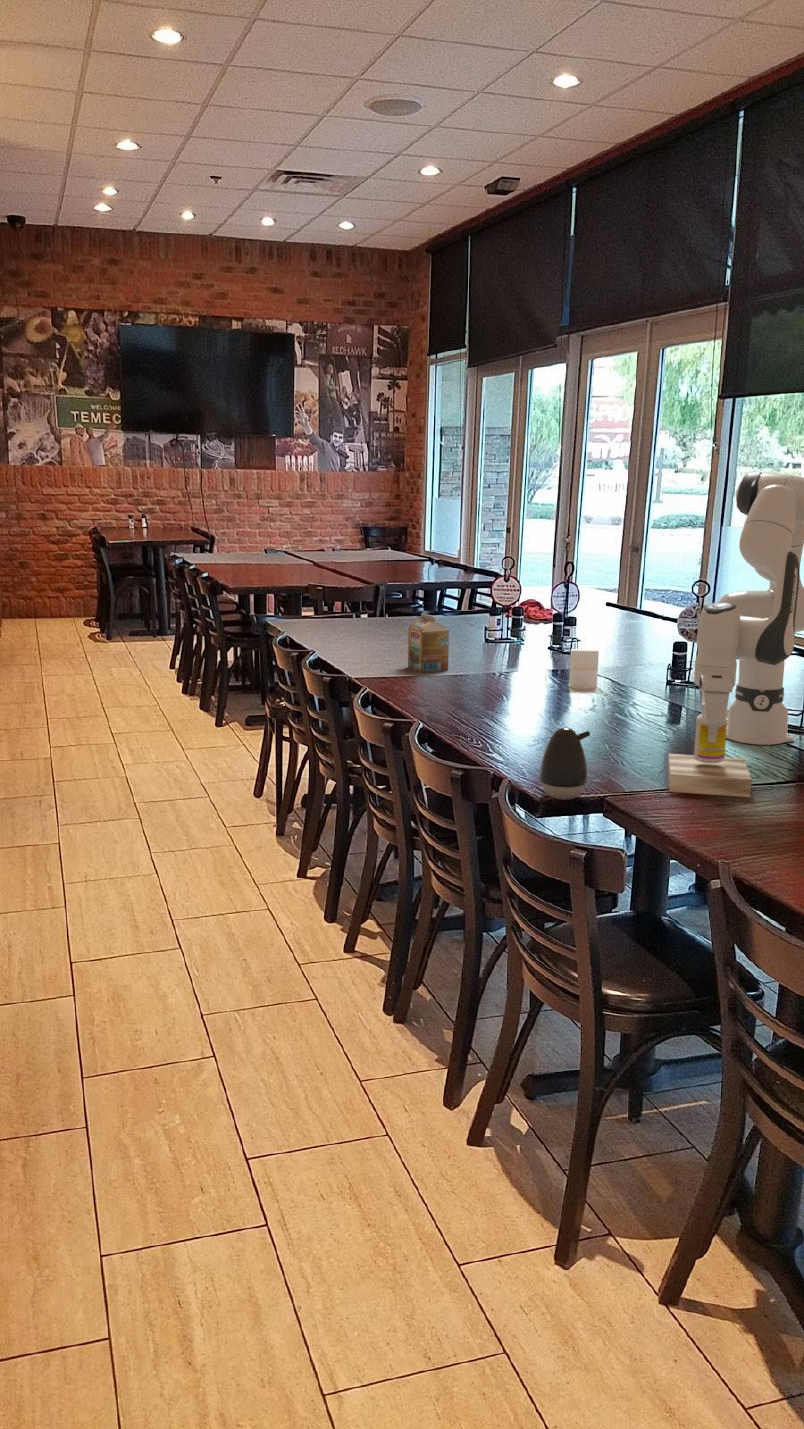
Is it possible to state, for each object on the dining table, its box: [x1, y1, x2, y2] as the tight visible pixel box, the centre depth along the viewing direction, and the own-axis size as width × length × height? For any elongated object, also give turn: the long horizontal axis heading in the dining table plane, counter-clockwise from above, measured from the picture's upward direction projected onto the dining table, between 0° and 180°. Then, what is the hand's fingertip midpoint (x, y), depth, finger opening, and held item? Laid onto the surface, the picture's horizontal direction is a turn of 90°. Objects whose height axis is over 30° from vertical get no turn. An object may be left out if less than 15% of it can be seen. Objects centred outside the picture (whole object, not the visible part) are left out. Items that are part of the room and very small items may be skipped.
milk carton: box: [407, 613, 450, 673], centre depth 381 cm, size 11×10×19 cm
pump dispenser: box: [539, 727, 591, 801], centre depth 233 cm, size 10×10×15 cm
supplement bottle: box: [693, 702, 728, 763], centre depth 243 cm, size 7×7×13 cm
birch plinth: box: [666, 753, 753, 798], centre depth 245 cm, size 18×17×4 cm
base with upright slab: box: [568, 648, 600, 690], centre depth 353 cm, size 9×9×12 cm
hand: (710, 737), depth 243 cm, fingers closed on supplement bottle, 7 cm apart
